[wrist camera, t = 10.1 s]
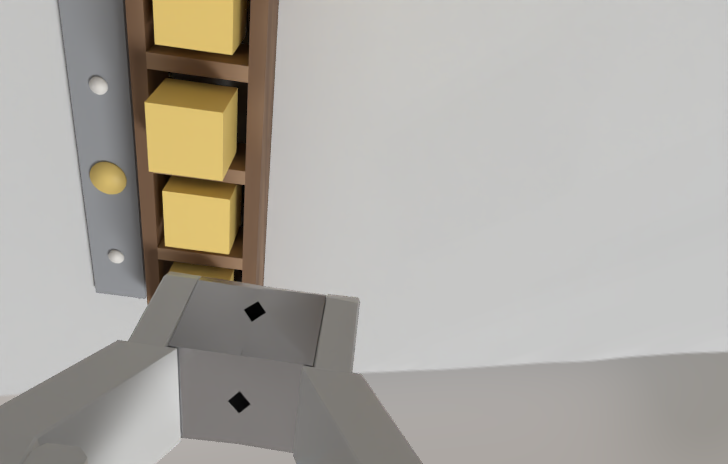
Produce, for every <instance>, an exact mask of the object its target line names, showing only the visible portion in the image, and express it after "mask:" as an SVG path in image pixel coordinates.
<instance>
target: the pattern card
mask: <svg viewBox="0 0 728 464" xmlns="http://www.w3.org/2000/svg"><path fill="white" fill-rule="evenodd" d="M58 3H59V11H60V18H61V26H62V34H63V41H64V49H65V57H66V65H67V72H68V80H69V88H70V95H71V103H72V111H73V119H74V126H75V134H76V142H77V149H78V157H79V165H80V172H81V180H82V188H83V196H84V203H85V211H86V219H87V226H88V234H89V242H90V250H91V257H92V265H93V273H94V280H95V288H96V293H104V294H112V295H120V296H128V297H135V298H143V299H145V298H146V296H147V291H146V277H145V264H144V250H143V237H142V223H141V210H140V196H139V183H138V169H137V156H136V142H135V129H134V115H133V102H132V88H131V75H130V61H129V48H128V34H127V20H126V7H125V0H58Z"/></svg>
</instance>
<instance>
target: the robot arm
mask: <svg viewBox="0 0 728 464" xmlns="http://www.w3.org/2000/svg"><path fill="white" fill-rule="evenodd" d="M326 297H327V299H326ZM359 305H360V301H359V298H356V297H348V296H339V295H331V294H328V295H324V294H317V293H310V292H302V291H295V290H288V289H280V288H273V287H266V286H261V285H255V284H249V283H243V282H237V281H230V280H224V279H218V278H212V277H206V276H202V277H201V276H198V275H191V274H185V273H179V272H172V271H170V272H169V273H167V274H166V275H165V276H163V278H162V280H161V282H160V284H159V286H158V287H157V289H156V291H155V293H154V295H153V296H152V298H151V300H150V302H149V304H148V306H147V307H146V309H145V311H144V313H143V315H142V317H141V318H140V320H139V322H138V324H137V326H136V327H135V329H134V331H133V333H132V335H131V337H130V338H129V340H128V341H121V340H117V341H116V342H114V343H112V344H110V345H108V346H107V347H105V348H103V349H101V350H99V351H98V352H96V353H94V354H92V355H90V356H89V357H87V358H85V359H83V360H81V361H80V362H78V363H76V364H74V365H73V366H71V367H69V368H67V369H65V370H64V371H62V372H60V373H58V374H56V375H55V376H53V377H51V378H49V379H47V380H46V381H44V382H42V383H40V384H38V385H37V386H35V387H33V388H31V389H29V390H28V391H26V392H24V393H22V394H20V395H19V396H17V397H15V398H13V399H12V400H10V401H8V402H6V403H4V404H3V405H1V406H0V464H156V463H157V462H158V461H159V460H161V458H163V457H164V456H165V455H166V454H167V453H168V452H169V451H170V450H172V449H173V448H174V447H175V446H176V445H177V444H178V443H179V442H180V441H181V438H189V439H198V440H208V441H216V442H226V443H235V444H242V445H248V446H254V447H260V448H266V449H272V450H278V451H285V452H290V453H293V456H294V459H295V461H296V464H423V463H422V462H421V460H420V459H419V457H418V456H417V455H416V453H415V452H414V450H413V449H412V448H411V446H410V444H409V443H408V441H407V440H406V438H405V437H404V436H403V435H402V433H401V431H400V430H399V428H398V427H397V425H396V424H395V422H394V421H393V419H392V418H391V416H390V415H389V413H388V412H387V411H386V409H385V408H384V406H383V405H382V403H381V402H380V401H379V399H378V398H377V396H376V394H375V393H374V392H373V390H372V389H371V387H370V386H369V384H368V383H367V381H366V380H365V378H364V377H363V375H362V374H357V373H352V370H353V361H354V352H355V343H356V333H357V324H358V315H359Z"/></svg>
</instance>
